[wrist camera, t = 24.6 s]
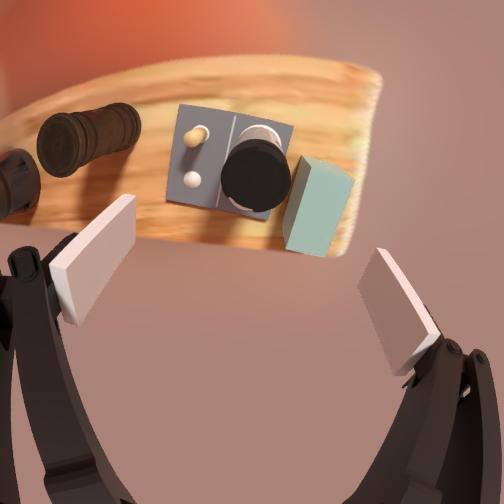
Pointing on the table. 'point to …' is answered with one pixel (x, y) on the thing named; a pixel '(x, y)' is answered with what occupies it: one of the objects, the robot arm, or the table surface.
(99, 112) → the container
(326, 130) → the table surface
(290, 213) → the pale green block
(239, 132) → the slate board
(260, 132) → the spray can
